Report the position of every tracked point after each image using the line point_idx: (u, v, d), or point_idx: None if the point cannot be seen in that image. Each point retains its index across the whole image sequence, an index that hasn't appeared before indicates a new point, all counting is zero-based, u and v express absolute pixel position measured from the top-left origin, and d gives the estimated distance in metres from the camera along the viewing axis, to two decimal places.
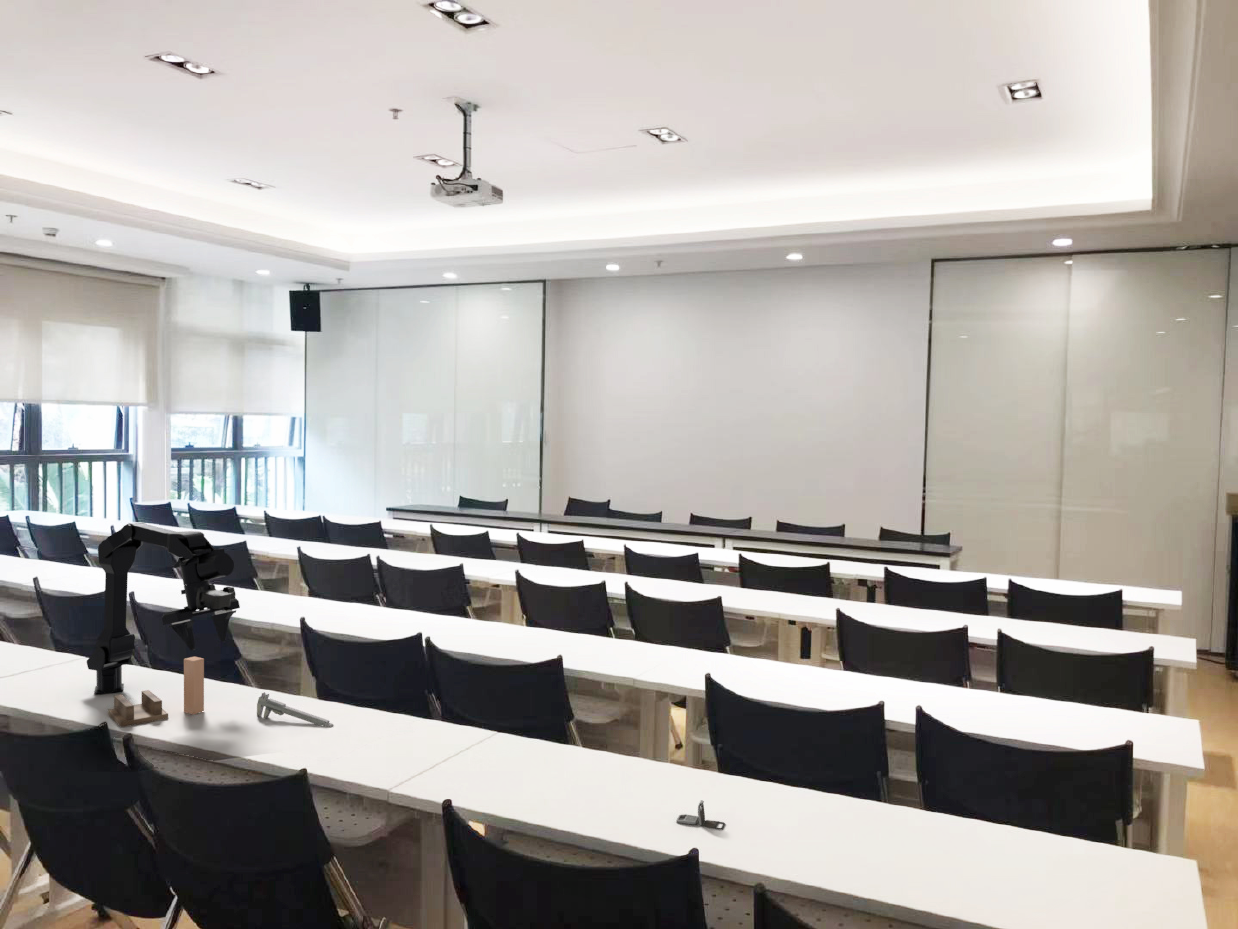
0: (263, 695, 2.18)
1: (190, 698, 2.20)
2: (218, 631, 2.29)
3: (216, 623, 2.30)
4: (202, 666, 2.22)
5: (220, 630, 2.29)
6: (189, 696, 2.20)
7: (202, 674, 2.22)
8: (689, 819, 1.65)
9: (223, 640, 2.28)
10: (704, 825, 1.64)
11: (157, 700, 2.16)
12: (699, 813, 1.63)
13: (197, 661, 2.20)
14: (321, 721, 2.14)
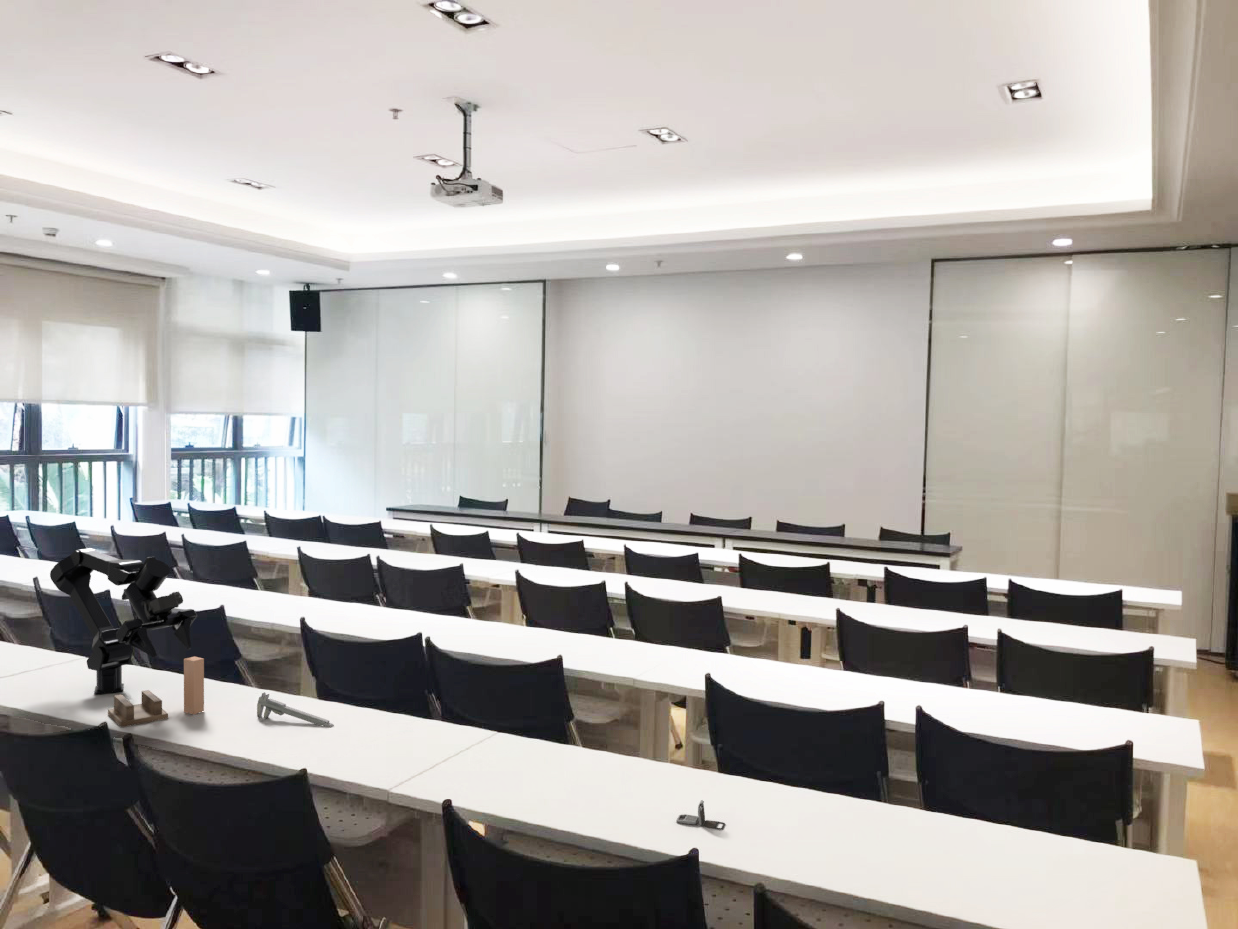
0: (263, 695, 2.18)
1: (190, 698, 2.20)
2: (182, 642, 2.31)
3: (179, 636, 2.32)
4: (202, 666, 2.22)
5: (184, 640, 2.30)
6: (189, 696, 2.20)
7: (202, 674, 2.22)
8: (689, 819, 1.65)
9: (189, 647, 2.29)
10: (704, 825, 1.64)
11: (157, 700, 2.16)
12: (699, 813, 1.63)
13: (197, 661, 2.20)
14: (321, 721, 2.14)
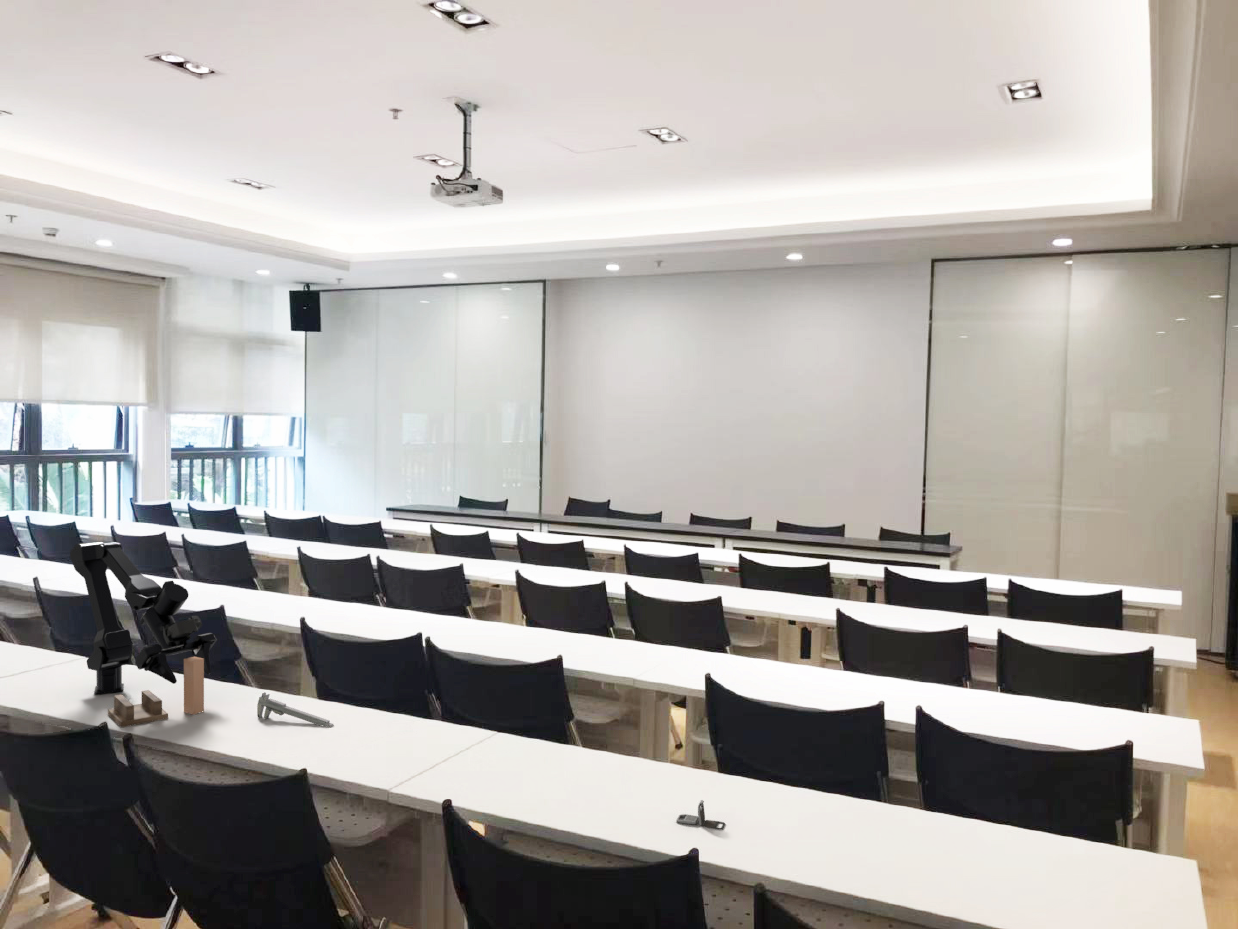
0: (263, 695, 2.18)
1: (190, 698, 2.20)
2: None
3: None
4: (202, 666, 2.22)
5: None
6: (189, 696, 2.20)
7: (202, 674, 2.22)
8: (689, 819, 1.65)
9: (208, 672, 2.26)
10: (704, 825, 1.64)
11: (157, 700, 2.16)
12: (699, 813, 1.63)
13: (197, 661, 2.20)
14: (321, 721, 2.14)
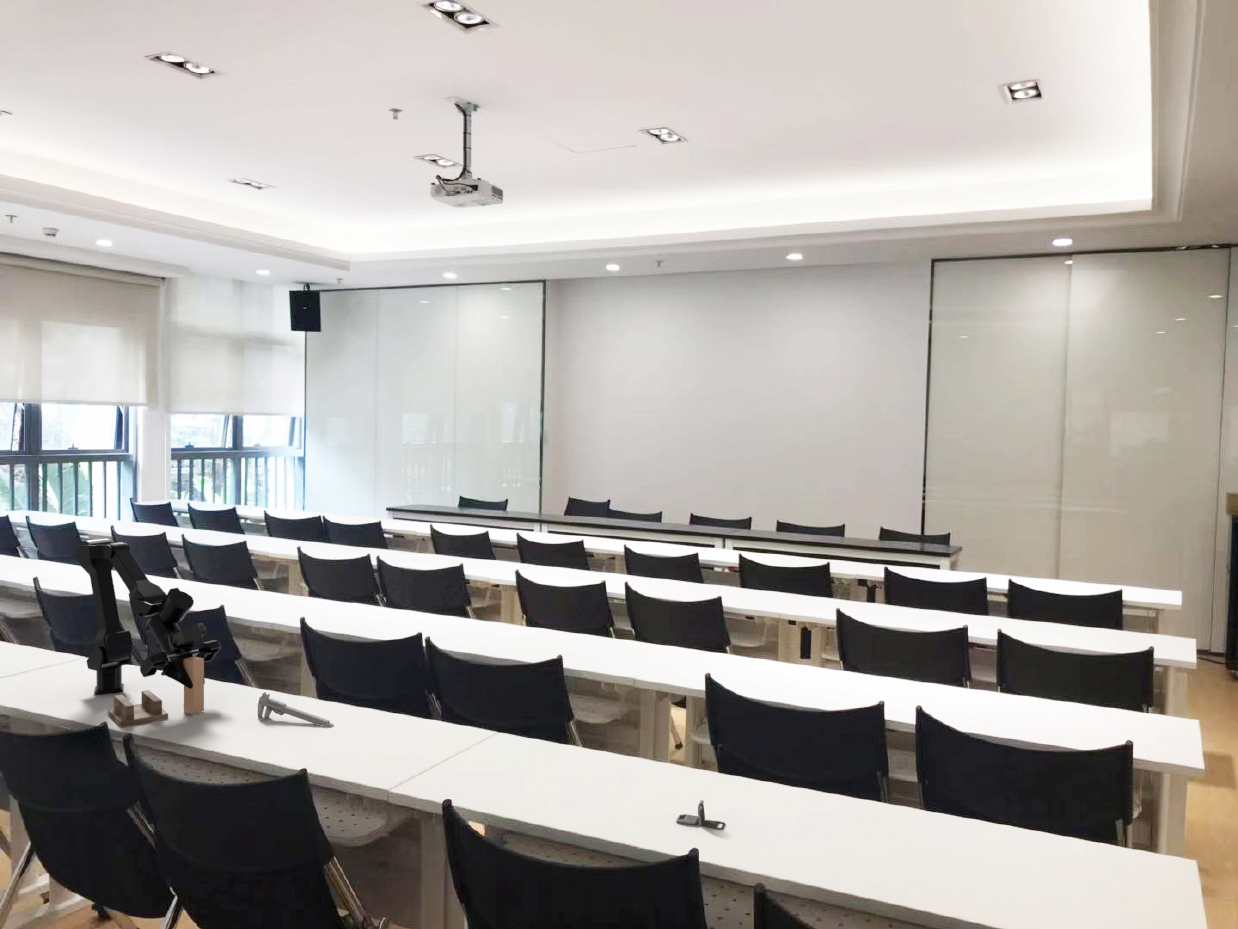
0: (264, 695, 2.18)
1: (190, 698, 2.20)
2: None
3: None
4: (202, 666, 2.22)
5: None
6: (189, 696, 2.20)
7: (202, 674, 2.22)
8: (689, 819, 1.65)
9: None
10: (704, 825, 1.64)
11: (157, 700, 2.16)
12: (699, 813, 1.63)
13: (197, 661, 2.20)
14: (321, 721, 2.14)
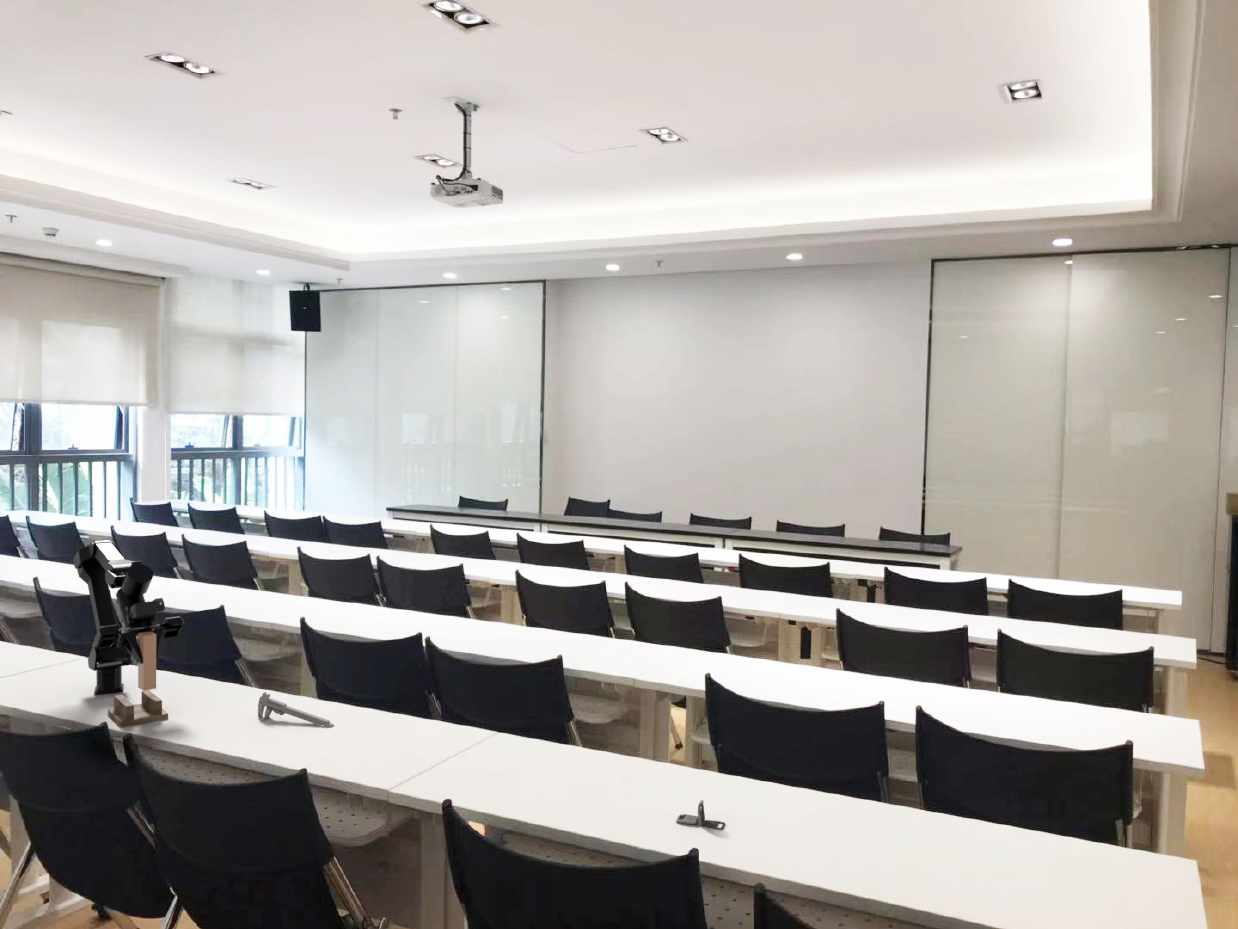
0: (264, 695, 2.18)
1: (141, 673, 2.17)
2: None
3: None
4: (154, 641, 2.17)
5: None
6: (141, 671, 2.17)
7: (154, 650, 2.17)
8: (689, 819, 1.65)
9: None
10: (704, 825, 1.64)
11: (157, 700, 2.16)
12: (699, 813, 1.63)
13: (148, 636, 2.16)
14: (322, 721, 2.14)
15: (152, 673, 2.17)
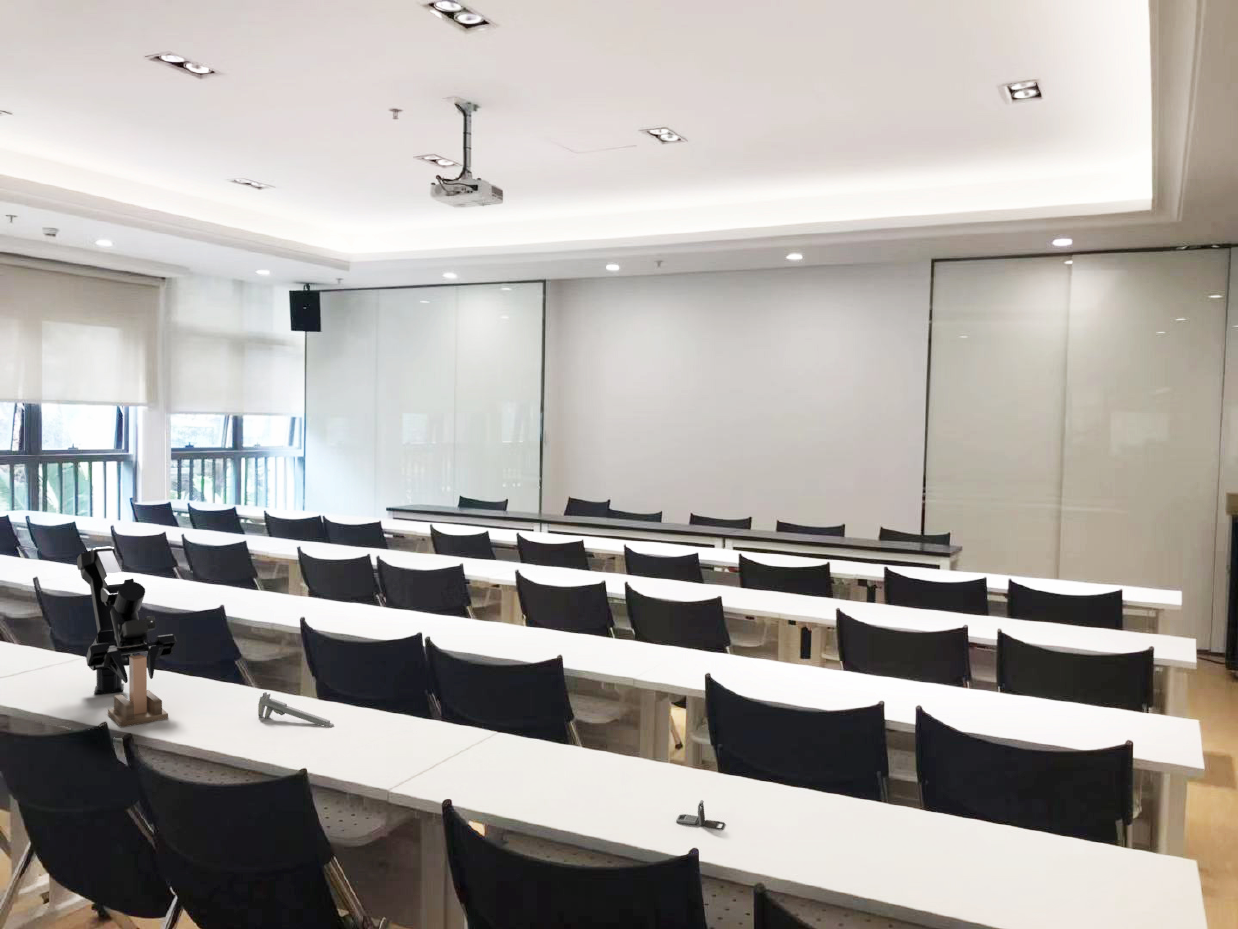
0: (264, 695, 2.19)
1: (132, 697, 2.16)
2: (148, 670, 2.20)
3: (147, 663, 2.22)
4: (144, 665, 2.17)
5: (149, 668, 2.20)
6: (132, 695, 2.16)
7: (144, 673, 2.17)
8: (689, 819, 1.65)
9: (151, 676, 2.18)
10: (704, 825, 1.64)
11: (157, 700, 2.16)
12: (699, 813, 1.63)
13: (138, 660, 2.16)
14: (322, 721, 2.14)
15: (142, 697, 2.17)
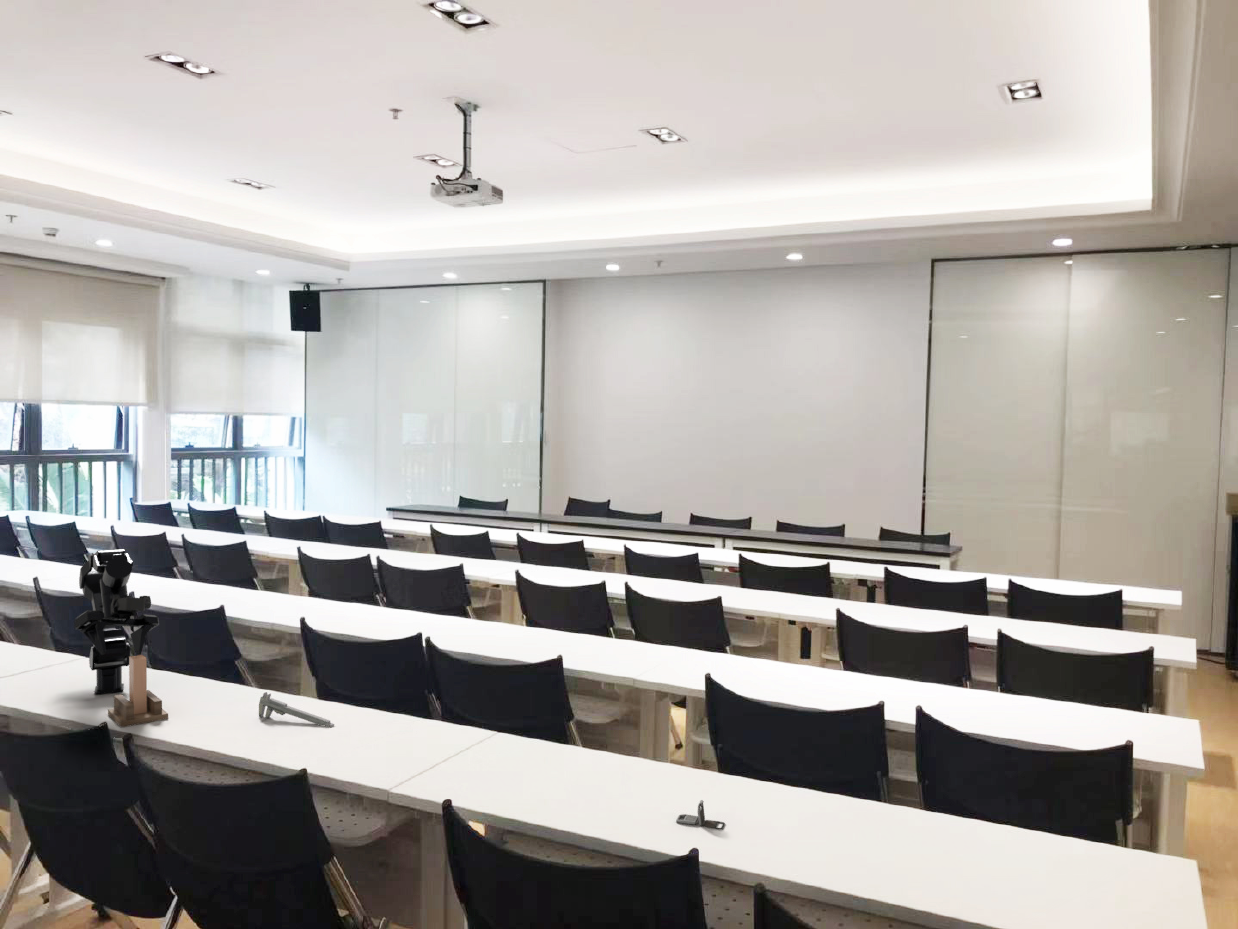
0: (265, 695, 2.19)
1: (132, 697, 2.16)
2: (135, 646, 2.29)
3: (134, 639, 2.30)
4: (144, 665, 2.17)
5: (137, 644, 2.29)
6: (132, 695, 2.16)
7: (144, 673, 2.17)
8: (689, 819, 1.65)
9: (139, 653, 2.28)
10: (704, 825, 1.64)
11: (157, 700, 2.16)
12: (699, 813, 1.63)
13: (138, 660, 2.16)
14: (322, 721, 2.14)
15: (142, 697, 2.17)
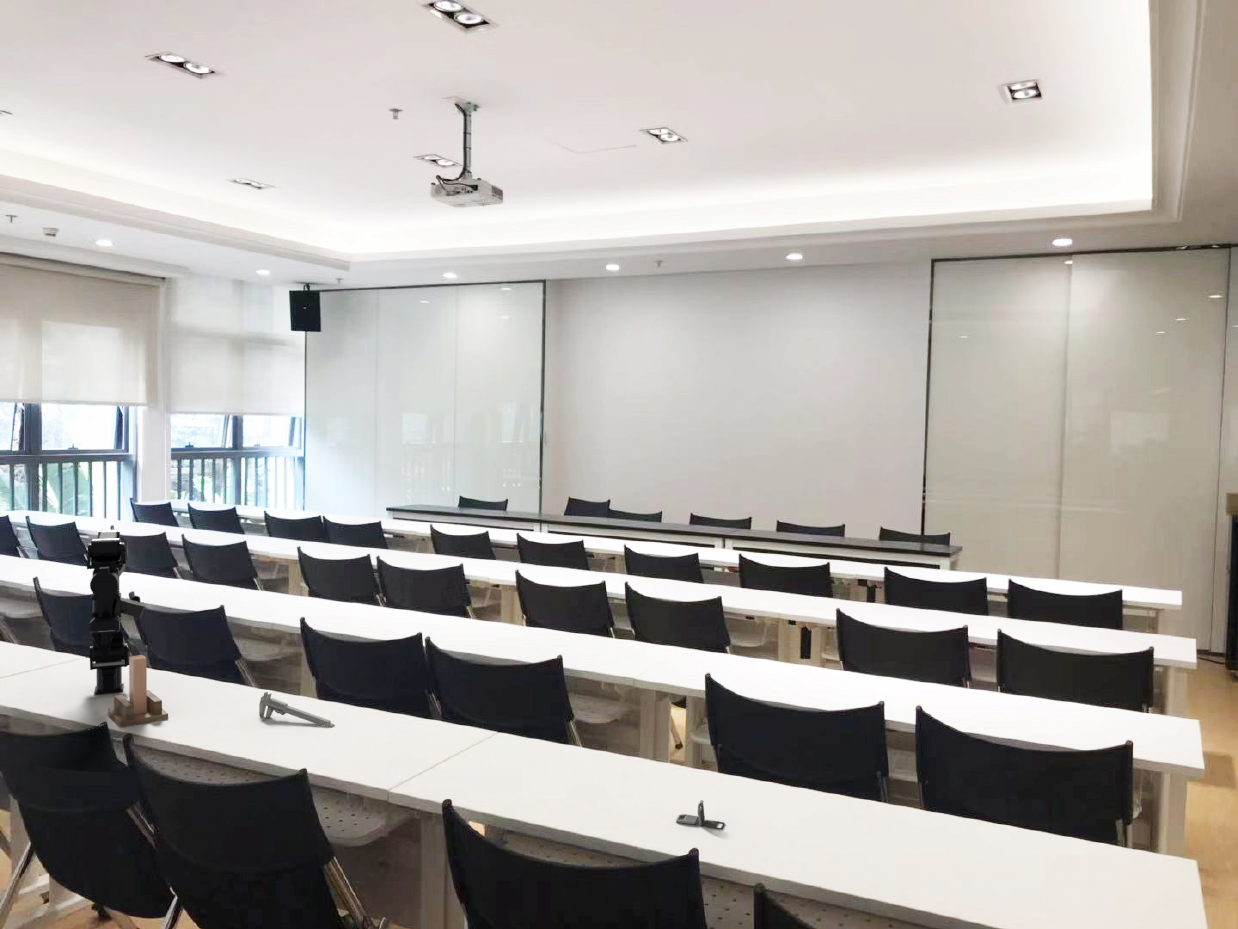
0: (265, 695, 2.19)
1: (132, 697, 2.16)
2: None
3: None
4: (144, 665, 2.17)
5: None
6: (132, 695, 2.16)
7: (144, 673, 2.17)
8: (689, 819, 1.65)
9: None
10: (704, 825, 1.64)
11: (157, 700, 2.16)
12: (699, 813, 1.63)
13: (138, 660, 2.16)
14: (322, 721, 2.14)
15: (142, 697, 2.17)
